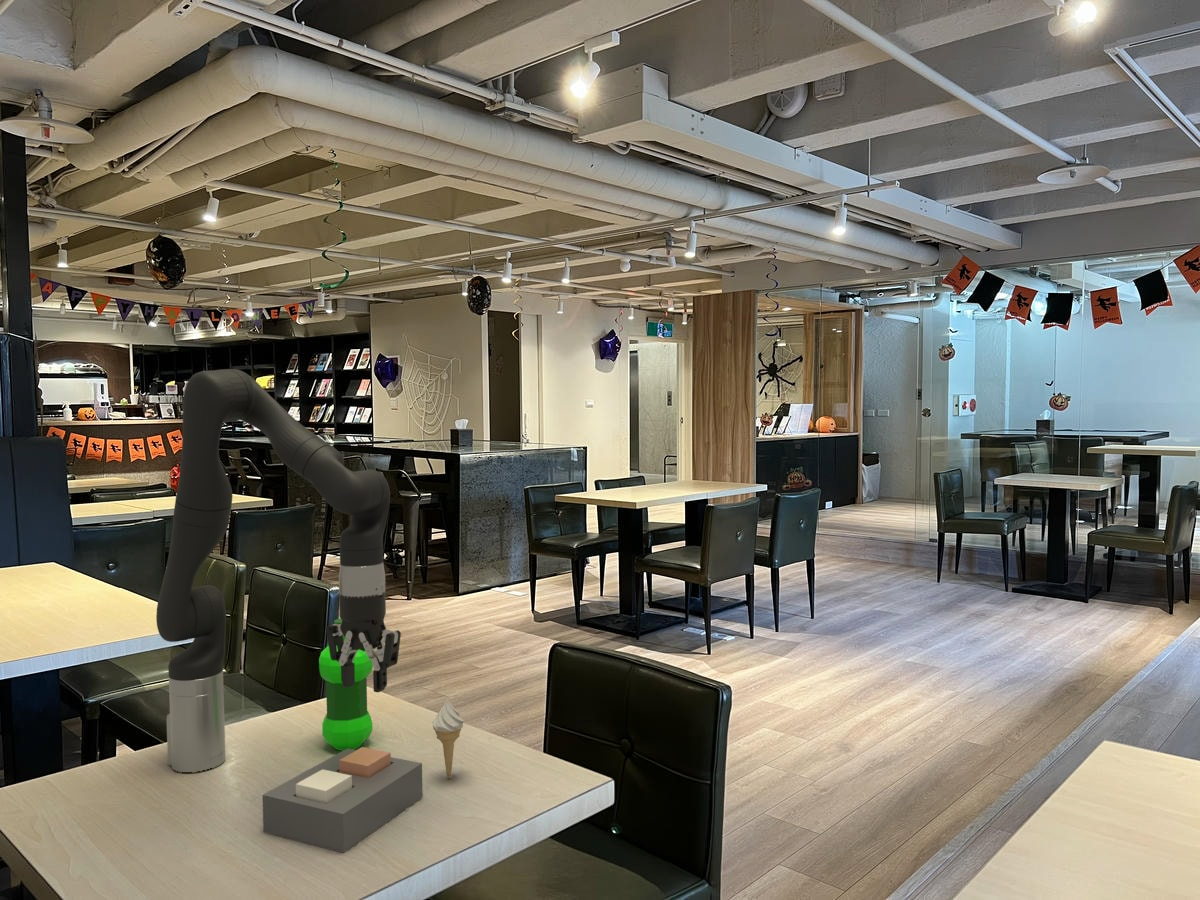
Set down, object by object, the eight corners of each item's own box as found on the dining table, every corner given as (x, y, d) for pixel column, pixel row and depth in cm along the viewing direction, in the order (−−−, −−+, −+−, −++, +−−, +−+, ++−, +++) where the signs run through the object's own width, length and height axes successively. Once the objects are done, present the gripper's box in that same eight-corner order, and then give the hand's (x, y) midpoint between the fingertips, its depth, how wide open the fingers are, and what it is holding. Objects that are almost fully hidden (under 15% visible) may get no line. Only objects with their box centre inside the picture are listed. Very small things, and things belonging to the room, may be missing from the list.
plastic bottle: (312, 743, 173) (309, 619, 172) (363, 731, 180) (361, 611, 178) (330, 760, 165) (327, 630, 164) (383, 747, 172) (380, 621, 170)
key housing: (263, 831, 138) (262, 794, 138) (348, 781, 156) (347, 748, 156) (343, 852, 131) (343, 814, 131) (422, 797, 150) (422, 763, 149)
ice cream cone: (470, 775, 158) (469, 694, 157) (452, 788, 153) (451, 704, 152) (444, 770, 161) (443, 690, 160) (426, 782, 156) (425, 699, 155)
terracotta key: (339, 777, 147) (339, 760, 146) (362, 763, 152) (362, 747, 152) (368, 783, 144) (367, 766, 144) (390, 769, 150) (390, 752, 149)
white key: (296, 802, 137) (295, 784, 137) (322, 787, 143) (322, 769, 143) (326, 809, 135) (325, 790, 135) (352, 793, 140) (351, 775, 140)
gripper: (313, 590, 146) (315, 689, 147) (383, 598, 140) (385, 701, 141) (343, 581, 153) (345, 676, 154) (411, 588, 147) (412, 687, 148)
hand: (364, 688), depth 147 cm, fingers open, 5 cm apart
